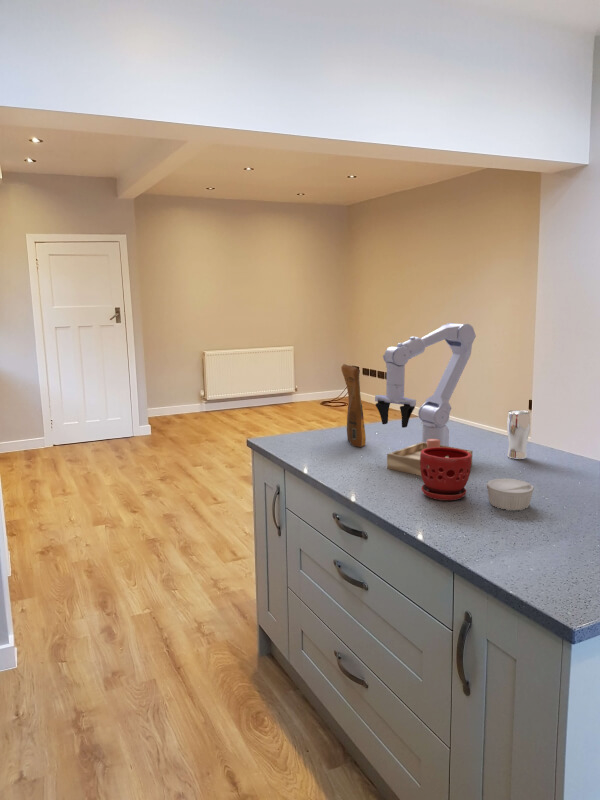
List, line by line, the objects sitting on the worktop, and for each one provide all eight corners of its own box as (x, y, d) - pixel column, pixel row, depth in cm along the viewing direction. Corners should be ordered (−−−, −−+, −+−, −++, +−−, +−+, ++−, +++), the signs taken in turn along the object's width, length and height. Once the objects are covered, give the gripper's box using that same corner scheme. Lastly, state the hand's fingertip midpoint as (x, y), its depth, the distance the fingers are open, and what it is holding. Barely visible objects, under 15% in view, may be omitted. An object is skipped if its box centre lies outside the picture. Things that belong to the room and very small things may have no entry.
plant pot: (467, 506, 155) (469, 460, 153) (415, 500, 159) (416, 455, 157) (472, 490, 167) (473, 447, 165) (423, 485, 171) (424, 443, 169)
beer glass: (504, 459, 196) (506, 413, 194) (506, 453, 203) (508, 409, 200) (528, 461, 194) (530, 414, 191) (528, 455, 200) (531, 410, 198)
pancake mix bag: (350, 449, 212) (350, 368, 207) (340, 436, 230) (340, 362, 226) (369, 448, 212) (369, 368, 208) (358, 435, 231) (358, 361, 226)
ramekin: (527, 515, 148) (528, 494, 147) (480, 508, 153) (481, 487, 153) (536, 502, 157) (537, 482, 156) (492, 495, 163) (493, 476, 162)
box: (421, 455, 203) (422, 441, 202) (472, 464, 191) (472, 450, 190) (387, 468, 188) (387, 454, 188) (439, 479, 176) (439, 464, 175)
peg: (430, 462, 194) (431, 438, 192) (441, 465, 191) (442, 440, 190) (423, 465, 191) (424, 440, 189) (435, 467, 188) (435, 442, 187)
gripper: (369, 383, 199) (369, 424, 202) (407, 387, 190) (406, 430, 192) (382, 381, 205) (381, 421, 207) (420, 385, 195) (418, 427, 197)
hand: (394, 425), depth 200 cm, fingers open, 7 cm apart
